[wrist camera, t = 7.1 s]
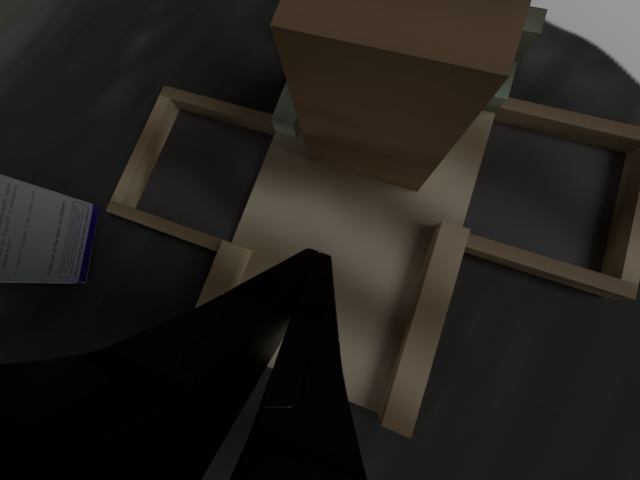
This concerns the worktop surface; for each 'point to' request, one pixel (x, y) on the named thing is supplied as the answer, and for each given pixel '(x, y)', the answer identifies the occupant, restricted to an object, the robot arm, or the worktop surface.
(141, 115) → the worktop surface
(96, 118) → the worktop surface
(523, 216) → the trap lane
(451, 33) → the walnut block
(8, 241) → the supplement box
